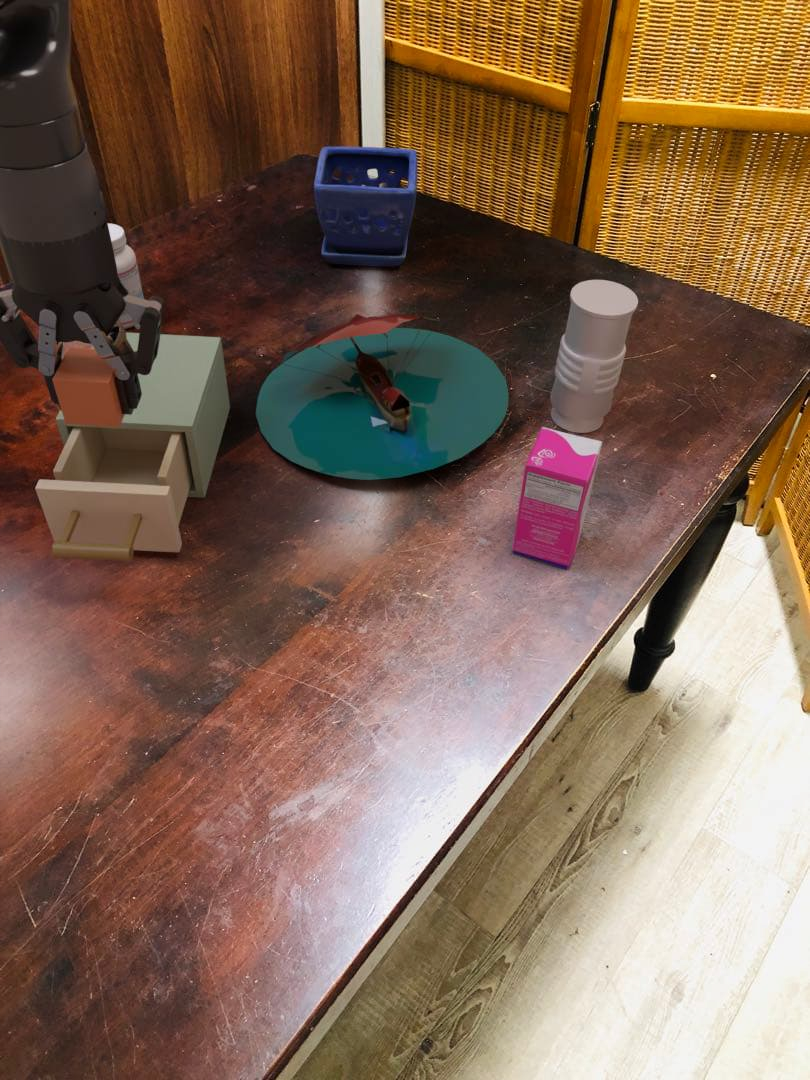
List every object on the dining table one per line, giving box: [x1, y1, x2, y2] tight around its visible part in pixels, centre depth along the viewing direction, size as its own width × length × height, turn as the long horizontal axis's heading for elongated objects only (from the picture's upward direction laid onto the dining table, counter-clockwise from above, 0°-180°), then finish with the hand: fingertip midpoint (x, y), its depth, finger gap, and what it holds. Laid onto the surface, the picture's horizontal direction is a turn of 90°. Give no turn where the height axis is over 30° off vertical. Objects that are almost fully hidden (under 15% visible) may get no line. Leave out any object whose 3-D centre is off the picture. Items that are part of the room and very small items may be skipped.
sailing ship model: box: [255, 313, 510, 481], centre depth 95 cm, size 28×28×11 cm
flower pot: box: [313, 146, 418, 267], centre depth 119 cm, size 13×13×12 cm
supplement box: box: [511, 426, 603, 571], centre depth 81 cm, size 6×6×12 cm
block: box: [52, 347, 125, 427], centre depth 73 cm, size 4×4×4 cm
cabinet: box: [55, 331, 231, 499], centre depth 89 cm, size 15×13×9 cm
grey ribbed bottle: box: [549, 279, 639, 434], centre depth 93 cm, size 7×7×15 cm
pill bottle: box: [107, 222, 145, 330], centre depth 105 cm, size 6×6×11 cm
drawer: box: [34, 426, 193, 563], centre depth 81 cm, size 19×11×7 cm, turn 178°
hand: (99, 406), depth 74 cm, fingers closed on block, 4 cm apart
